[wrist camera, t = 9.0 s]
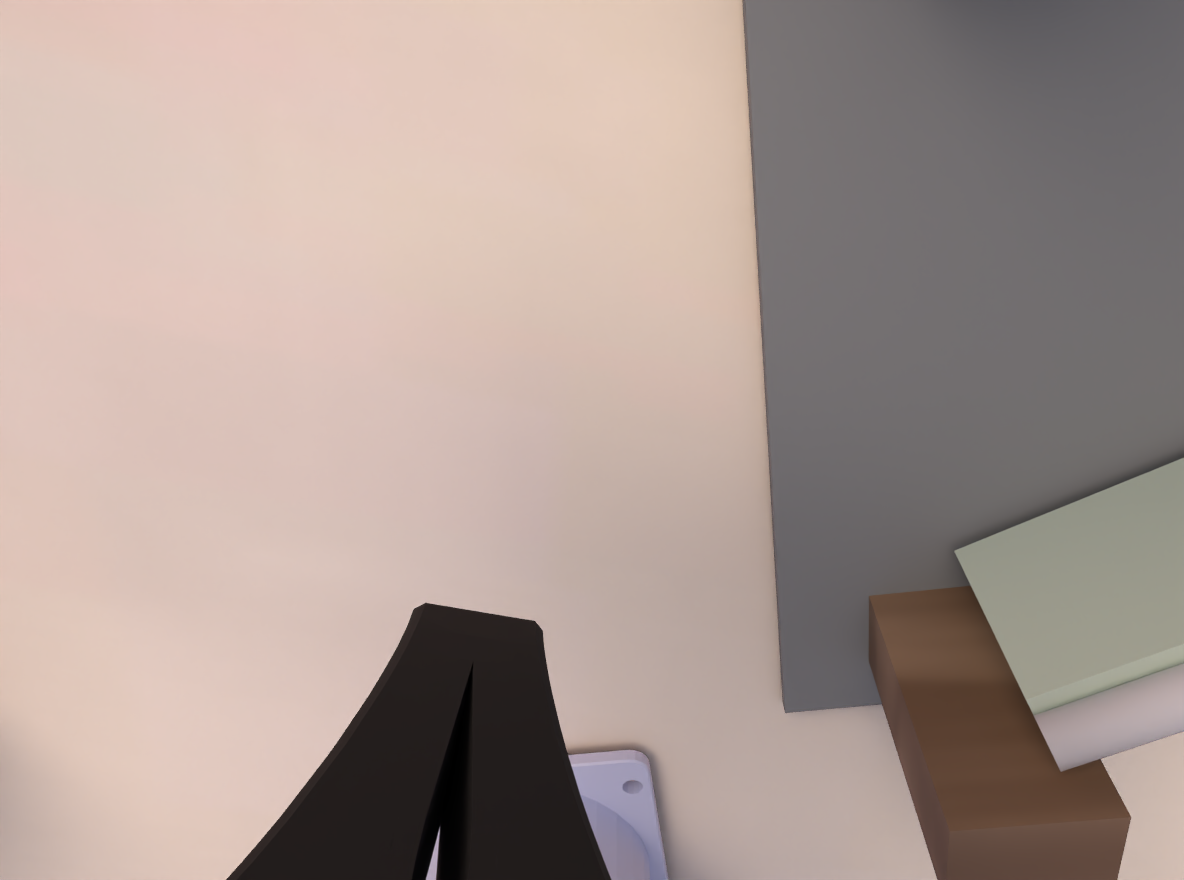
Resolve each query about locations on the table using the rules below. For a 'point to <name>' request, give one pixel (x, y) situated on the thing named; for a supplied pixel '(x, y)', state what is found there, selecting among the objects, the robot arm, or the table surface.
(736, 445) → the table surface
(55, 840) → the table surface
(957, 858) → the gate posts
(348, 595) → the table surface
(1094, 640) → the gate
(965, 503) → the yard mat
